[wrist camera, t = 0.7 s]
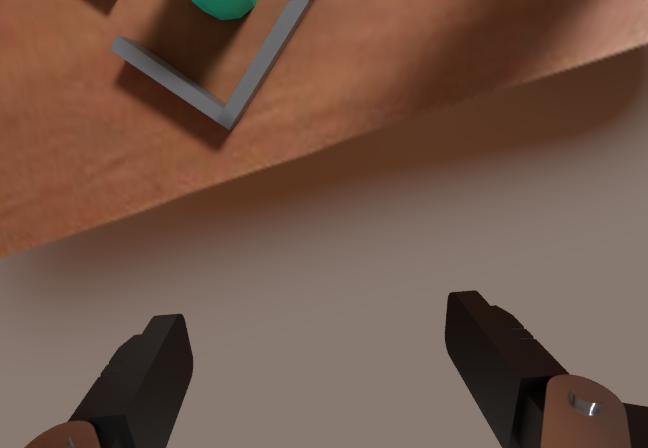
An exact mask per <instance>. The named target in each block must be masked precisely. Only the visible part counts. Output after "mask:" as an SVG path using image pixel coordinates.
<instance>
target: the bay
mask: <svg viewBox="0 0 648 448" xmlns="http://www.w3.org/2000/svg"><path fill="white" fill-rule="evenodd" d="M313 1H314V0H289V1H288V3H287V5H286V6H285V8H284V10H283V11H282V13H281V15H280V16H279V18H278V20H277V21H276V23H275V25H274V26H273V28H272V29H271V31H270V33H269V34H268V36H267V38H266V39H265V41H264V43H263V44H262V46H261V48H260V49H259V51H258V53H257V54H256V56H255V58H254V59H253V61H252V63H251V64H250V66H249V68H248V69H247V71H246V72H245V74H244V76H243V77H242V79H241V81H240V82H239V84H238V86H237V87H236V89H235V91H234V92H233V94H232V96H231V97H230V99H229V101H228V102H227V104H225V103H224V102H222V101H221V100H220V99H218V98H217V97H215V96H214V95H212V94H211V93H209V92H208V91H207V90H205V89H204V88H202V87H201V86H199V85H198V84H197V83H195V82H194V81H192V80H191V79H189V78H188V77H186V76H185V75H184V74H182V73H181V72H179V71H178V70H176V69H175V68H174V67H172V66H171V65H169V64H168V63H166V62H165V61H163V60H162V59H161V58H159V57H158V56H156V55H155V54H153V53H152V52H151V51H149V50H148V49H146V48H145V47H143V46H142V45H141V44H139V43H138V42H136V41H133V40H130V39H127V38H124V37H121V36H118V35H116V37H115V39H114V41H113V43H112V45H111V47H110V50H111V51H113V52H114V53H116V54H117V55H119V56H120V57H122V58H123V59H125V60H126V61H128V62H129V63H130V64H132V65H133V66H135V67H136V68H138V69H139V70H141V71H142V72H144V73H145V74H147V75H148V76H150V77H151V78H153V79H154V80H156V81H157V82H159V83H160V84H162V85H163V86H164V87H166V88H167V89H169V90H170V91H172V92H173V93H175V94H176V95H178V96H179V97H181V98H182V99H184V100H185V101H187V102H188V103H190V104H191V105H193V106H194V107H196V108H197V109H198V110H200V111H201V112H203V113H204V114H206V115H207V116H209V117H210V118H212V119H213V120H215V121H216V122H218V123H219V124H221V125H222V126H224V127H225V128H227V129H228V130H230V129H232V128H233V127H235V126H236V124H237V123H238V121H239V120H240V118H241V116H242V115H243V113H244V112H245V110H246V108H247V107H248V105H249V104H250V102H251V100H252V99H253V97H254V96H255V94H256V92H257V91H258V89H259V88H260V86H261V84H262V83H263V81H264V79H265V78H266V76H267V75H268V73H269V71H270V70H271V68H272V67H273V65H274V63H275V62H276V60H277V59H278V57H279V55H280V54H281V52H282V51H283V49H284V47H285V46H286V44H287V43H288V41H289V39H290V38H291V36H292V34H293V33H294V31H295V30H296V28H297V26H298V25H299V23H300V22H301V20H302V18H303V17H304V15H305V14H306V12H307V10H308V9H309V7H310V6H311V4H312V2H313Z"/></svg>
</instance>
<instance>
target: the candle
mask: <svg viewBox="0 0 648 448" xmlns="http://www.w3.org/2000/svg"><path fill="white" fill-rule="evenodd" d="M191 1H193V2H194V3H195V4H196V5H197V6H198V7H199V8H200V9H201V10H202V11H204V12H206V13H208V14H210V15H212V16H214V17H216V18H218V19H220V20H229V19H240V18H241V17H242V16H244V15H245V14H246V13H247V12H248V11H250V10H251V9H252V8H253V7H254V6H255V4H256V1H257V0H191Z"/></svg>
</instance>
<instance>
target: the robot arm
mask: <svg viewBox="0 0 648 448" xmlns="http://www.w3.org/2000/svg"><path fill="white" fill-rule="evenodd" d="M445 343H446V348H447V351H448V354H449V356H450V358H451V359H452V361H453V363H454V365H455V366H456V368H457V370H458V372H459V373H460V375H461V377H462V379H463V380H464V382H465V384H466V386H467V387H468V389H469V391H470V393H471V394H472V396H473V398H474V399H475V401H476V403H477V404H478V406H479V408H480V410H481V412H482V413H483V415H484V417H485V418H486V420H487V422H488V424H489V425H490V427H491V429H492V430H493V432H494V434H495V436H496V438H497V439H498V441H499V443H500V445H501V446H502V448H648V407H646V406H639V405H633V404H627V403H622V402H621V401H620V400H619V399H618V397H617V396H616V395H615V394H613V393H612V392H611V391H610V390H608V389H607V388H605V387H604V386H602V385H600V384H599V383H597V382H595V381H592V380H590V379H587V378H584V377H581V376H576V375H570V374H569V373H568V372H567V371H566V370H565V369H564V368H563V367H562V366H561V365H560V364H559V363H558V362H557V361H556V360H555V359H554V358H553V356H552V355H551V354H550V353H549V352H548V351H547V350H546V349H545V348H544V347H543V346H542V345H541V344H540V343H539V342H538V341H537V340H536V339H534V338H533V336H532V335H531V334H530V333H529V332H528V331H527V330H526V329H524V326H523V325H522V324H521V323H520V322H519V321H518V320H517V319H516V318H515V317H514V316H513V315H512V314H510V313H508V312H507V311H505V310H503V309H501V308H499V307H498V306H496V305H495V306H490V305H489V304H488V302H487V301H486V300H485V299H484V298H483V297H482V296H481V295H480V294H479V293H478V292H477V291H475V290H474V291H462V292H451V293H450V294H449V296H448V302H447V313H446V326H445ZM192 372H193V355H192V351H191V346H190V342H189V337H188V333H187V328H186V323H185V319H184V317H183V315H182V314H171V315H159V316H154V317H153V318H152V319H151V321H150V322H149V324H148V325H147V327H146V328H145V330H144V332H143V333H142V334H140V335H134V336H133V337H132V338H130V339H129V340H128V341H127V342H125V343H124V344H123V345H122V346H120V347H119V348H118V350H117V351H116V353H115V354H114V355H113V357H112V358H111V360H110V361H109V365H107V366H106V367H105V368H104V370H103V371H102V373H101V376H100V377H98V379H97V380H96V381H95V383H94V384H93V386H92V387H91V389H90V390H89V392H88V393H87V394H86V396H85V398H84V399H83V400H82V402H81V403H80V405H79V406H78V407H77V409H76V410H75V412H74V413H73V415H72V416H71V418H70V419H69V420H68V422H66V423H63V424H60V425H57V426H55V427H53V428H51V429H49V430H47V431H45V432H43V433H42V434H40V435H39V436H37V437H36V438H35V439H33V440H32V441H31V442H30V443H29V444H28V445H27V446H26V447H24V448H166V446H167V443H168V440H169V438H170V435H171V432H172V429H173V427H174V424H175V421H176V418H177V415H178V413H179V410H180V408H181V405H182V402H183V399H184V397H185V394H186V391H187V389H188V386H189V383H190V380H191V377H192Z"/></svg>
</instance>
